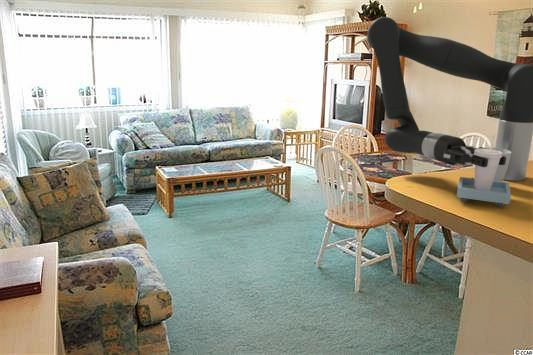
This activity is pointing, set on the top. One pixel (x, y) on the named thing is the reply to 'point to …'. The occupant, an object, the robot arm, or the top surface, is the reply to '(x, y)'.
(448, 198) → the top surface
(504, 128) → the robot arm
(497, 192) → the square pastel tray
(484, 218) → the top surface
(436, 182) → the top surface
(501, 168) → the cup
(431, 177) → the top surface
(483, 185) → the smoothie
